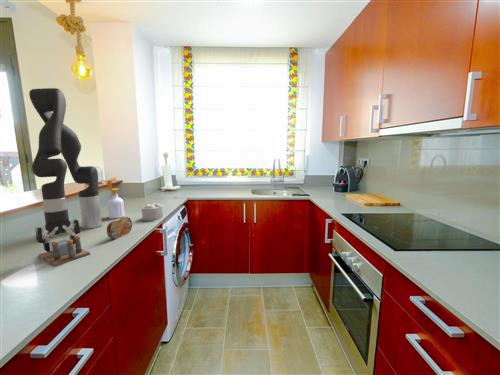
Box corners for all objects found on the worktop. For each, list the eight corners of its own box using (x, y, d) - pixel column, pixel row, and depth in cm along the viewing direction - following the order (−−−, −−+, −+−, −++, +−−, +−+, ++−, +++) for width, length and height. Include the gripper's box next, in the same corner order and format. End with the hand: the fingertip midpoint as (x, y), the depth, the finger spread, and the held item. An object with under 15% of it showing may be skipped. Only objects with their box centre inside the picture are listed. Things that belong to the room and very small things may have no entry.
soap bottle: (127, 216, 160) (124, 177, 156) (113, 219, 152) (109, 179, 148) (119, 214, 165) (116, 177, 161) (105, 217, 157) (101, 178, 153)
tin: (112, 241, 116) (110, 223, 115) (106, 240, 117) (104, 223, 116) (133, 230, 131) (131, 215, 129) (127, 230, 131) (126, 215, 130)
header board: (38, 256, 101) (36, 238, 99) (72, 246, 110) (70, 229, 109) (54, 265, 92) (51, 246, 91) (90, 254, 102) (87, 236, 100)
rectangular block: (60, 256, 98) (59, 245, 98) (51, 251, 103) (50, 240, 103) (72, 252, 102) (70, 242, 101) (62, 248, 107) (61, 237, 106)
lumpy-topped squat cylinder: (140, 220, 151) (138, 206, 150) (152, 214, 163) (151, 201, 162) (155, 220, 149) (154, 206, 147) (167, 215, 161) (166, 202, 160)
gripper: (36, 214, 92) (43, 256, 94) (80, 206, 103) (84, 244, 106) (29, 211, 96) (35, 251, 98) (72, 204, 108) (76, 240, 110)
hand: (61, 247), depth 102 cm, fingers open, 8 cm apart
